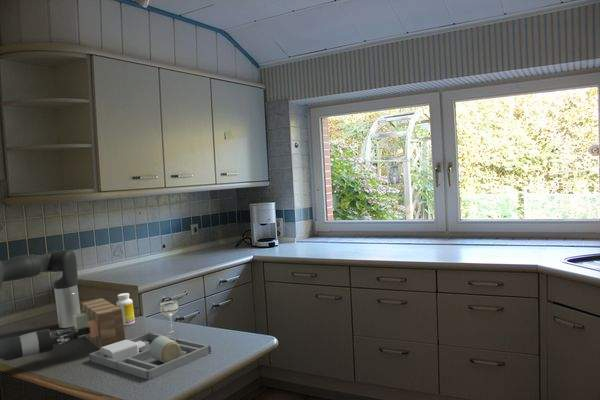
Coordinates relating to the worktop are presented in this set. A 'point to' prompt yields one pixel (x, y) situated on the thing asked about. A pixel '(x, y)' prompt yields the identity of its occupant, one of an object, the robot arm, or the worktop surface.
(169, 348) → the ceramic mug
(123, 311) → the supplement bottle
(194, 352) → the counter rail frame
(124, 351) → the charger
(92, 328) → the button terracotta
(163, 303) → the wineglass
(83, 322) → the button sage
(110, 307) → the panel
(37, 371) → the worktop surface
